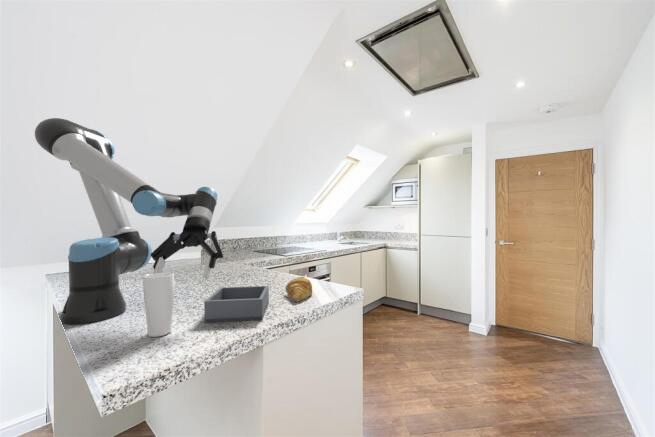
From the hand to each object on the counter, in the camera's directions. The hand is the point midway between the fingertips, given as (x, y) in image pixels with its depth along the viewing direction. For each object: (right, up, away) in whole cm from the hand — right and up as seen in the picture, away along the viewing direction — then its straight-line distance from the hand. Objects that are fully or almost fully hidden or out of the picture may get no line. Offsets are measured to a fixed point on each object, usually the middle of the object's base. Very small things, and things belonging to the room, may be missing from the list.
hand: (180, 278), depth 77 cm
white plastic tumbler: (-1, -13, -7) cm, 15 cm away
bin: (+14, -12, +8) cm, 21 cm away
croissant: (+31, -13, +27) cm, 43 cm away
